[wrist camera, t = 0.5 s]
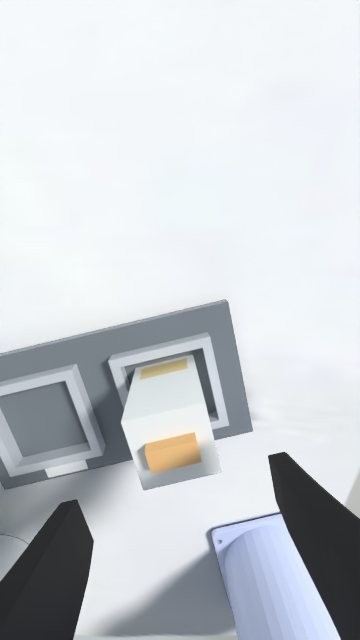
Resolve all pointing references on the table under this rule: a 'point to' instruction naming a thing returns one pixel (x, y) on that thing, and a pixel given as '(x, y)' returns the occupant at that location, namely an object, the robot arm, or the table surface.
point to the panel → (108, 390)
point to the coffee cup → (10, 552)
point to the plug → (169, 424)
